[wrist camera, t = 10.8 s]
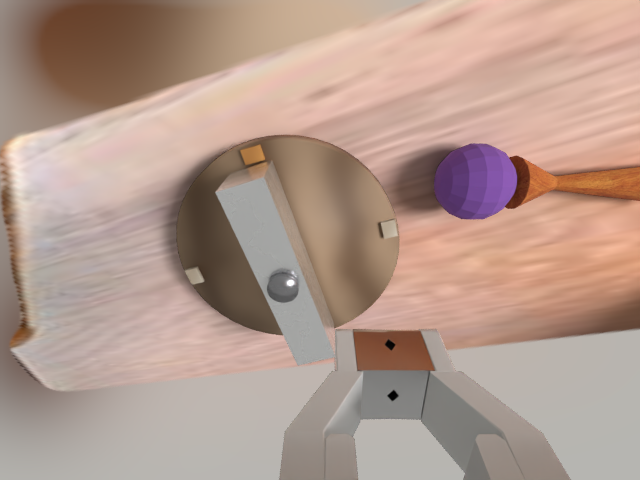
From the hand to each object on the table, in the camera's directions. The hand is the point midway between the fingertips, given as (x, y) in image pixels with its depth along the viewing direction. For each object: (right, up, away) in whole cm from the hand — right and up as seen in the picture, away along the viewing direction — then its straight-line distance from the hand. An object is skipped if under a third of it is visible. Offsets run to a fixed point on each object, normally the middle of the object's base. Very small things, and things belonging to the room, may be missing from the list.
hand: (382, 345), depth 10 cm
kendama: (+17, +9, +20) cm, 28 cm away
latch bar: (-5, +2, +20) cm, 21 cm away
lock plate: (-5, +3, +23) cm, 23 cm away
